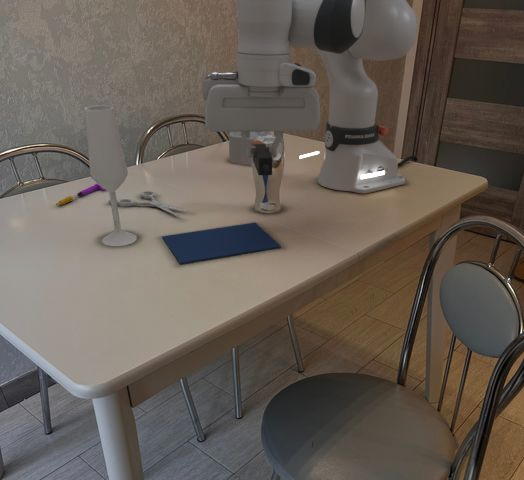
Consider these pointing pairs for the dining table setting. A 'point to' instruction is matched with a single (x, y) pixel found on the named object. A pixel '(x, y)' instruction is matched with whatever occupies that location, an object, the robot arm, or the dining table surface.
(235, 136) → the lumpy-topped squat cylinder
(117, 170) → the champagne flute
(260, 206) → the beer glass
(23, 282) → the dining table surface
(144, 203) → the scissors
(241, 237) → the mat
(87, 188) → the purple and yellow rod
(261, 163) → the marker
